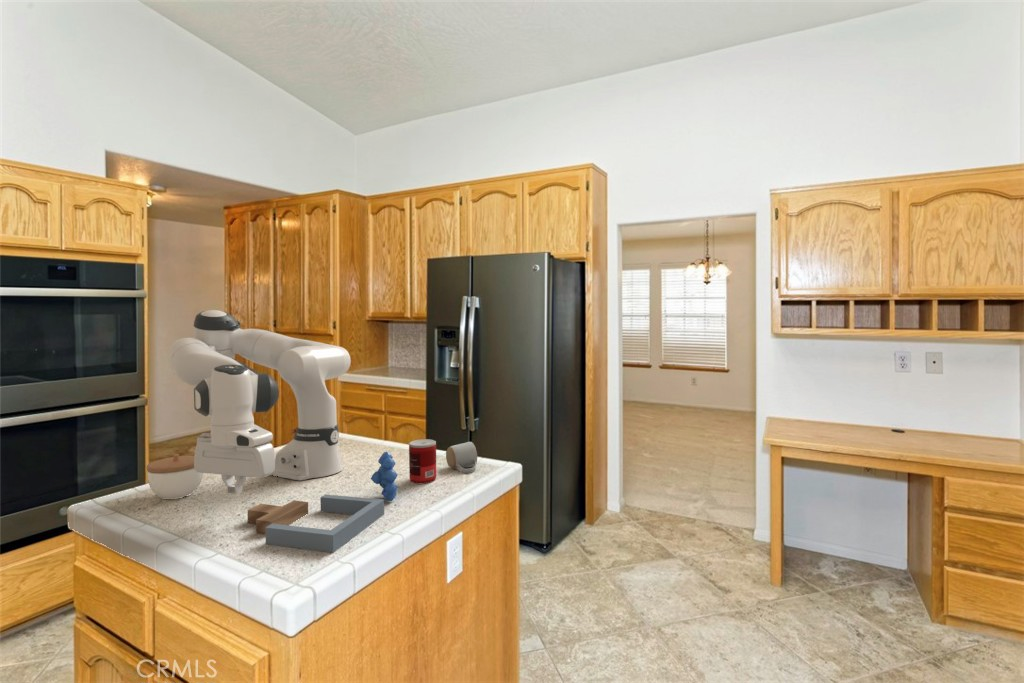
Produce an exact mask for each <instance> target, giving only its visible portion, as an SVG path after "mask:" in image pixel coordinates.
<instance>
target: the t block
mask: <svg viewBox="0 0 1024 683" xmlns="http://www.w3.org/2000/svg"><path fill="white" fill-rule="evenodd" d="M306 514H307V515H309V501H305V500H304V501H303V500H295V499H294V500H292V501H290V502H287V503H286V504H284V505H275V504H267V503H259V504H257V505H255V506H253V507H251V508H249V509H247V524H254V525H255V530H256V532H255V533H256V534H258V535H266V532H265V527H267V526H269V525H271V524H281V525H289V526H291V525H292V524H293V522H294V523H295V522H297V521H299V520H301V519H302V518H304V517H306V516H307V515H306ZM305 515H306V516H305ZM303 516H304V517H303ZM301 517H302V518H301ZM298 519H299V520H298ZM296 520H297V521H296Z"/></svg>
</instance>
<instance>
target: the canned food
mask: <svg viewBox="0 0 1024 683" xmlns="http://www.w3.org/2000/svg"><path fill="white" fill-rule="evenodd" d="M408 460H409V462H408V464H409V466H408V468H409V471H408V472H409V473H408V474H409V481H410V482H411V483H413V484H417V483H418V484H419V483H424V484H429V483H432V482H434V481H436V479H437V441H436V440H434V439H429V438H428V439H427V438H424V439H422V438H421V439H415V440H412V441H410V442H409V443H408ZM428 482H429V483H428ZM419 485H420V484H419Z"/></svg>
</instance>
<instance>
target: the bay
mask: <svg viewBox="0 0 1024 683" xmlns="http://www.w3.org/2000/svg"><path fill="white" fill-rule="evenodd" d="M319 500H320V512H322V511H324V512H323V513H325V512H326V513H332V512H336V513H335V514H341V513H346V514H345V515H351V514H354V515H351V516H349V517H348V518H346V519H345V520H343V521H341V522H339V523H338V524H337V525H336V526H334V527H333V528H331V529H323V528H314V527H306V526H297V525H281V524H271V525H269V526H267V527H265V532H266V534H265V545H268V546H269V545H271V546H276V547H278V546H280V547H286V548H295V549H302V550H308V551H309V550H310V551H318V552H319V551H320V552H326V553H333V554H334V553H335V552H336V551H337V549H338V550H339V549H340V548H342V547H343V546H344V545H345V543H346V544H347V543H348V542H350V541H351V540H352V539H353V538H355V537H357V535H358V534H360V533H362V532H363V531H364V530H366V529H367V528H368V527H370V525H372V524H373V523H375V522H376V521H378V520H379V519H380V518H382V517H383V516H384V515H385V499H378V498H370V497H360V496H359V497H358V496H348V495H347V496H345V495H339V494H338V495H337V494H336V495H335V494H324V495H321V496H320V499H319ZM341 546H342V547H341Z"/></svg>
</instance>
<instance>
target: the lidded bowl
mask: <svg viewBox="0 0 1024 683" xmlns="http://www.w3.org/2000/svg"><path fill="white" fill-rule="evenodd" d="M194 456H195V454H194V455H189V454H188V455H180V454H179V453H175V454H172V457H171V456H170V457H165V458H162V459H158V460H154V461H152V462H149V463H148V464H147V465H146V472H147V481H148V484H149V488H150V490H151V491H152V493H154V494H155V495H156V496H158V497H160V499H161V498H162V499H161V500H163V499H174V500H178V499H177V498H180V499H182V498H181V497H184V496H187V495H189V494H191V493H193V494H194V491H196V490H197V488H198V487H199V486H200V484H201V483H202V481H203V476H204V473H199V472H196V470H195V468H194ZM191 495H192V494H191ZM187 497H188V496H187ZM184 498H185V497H184Z"/></svg>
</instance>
